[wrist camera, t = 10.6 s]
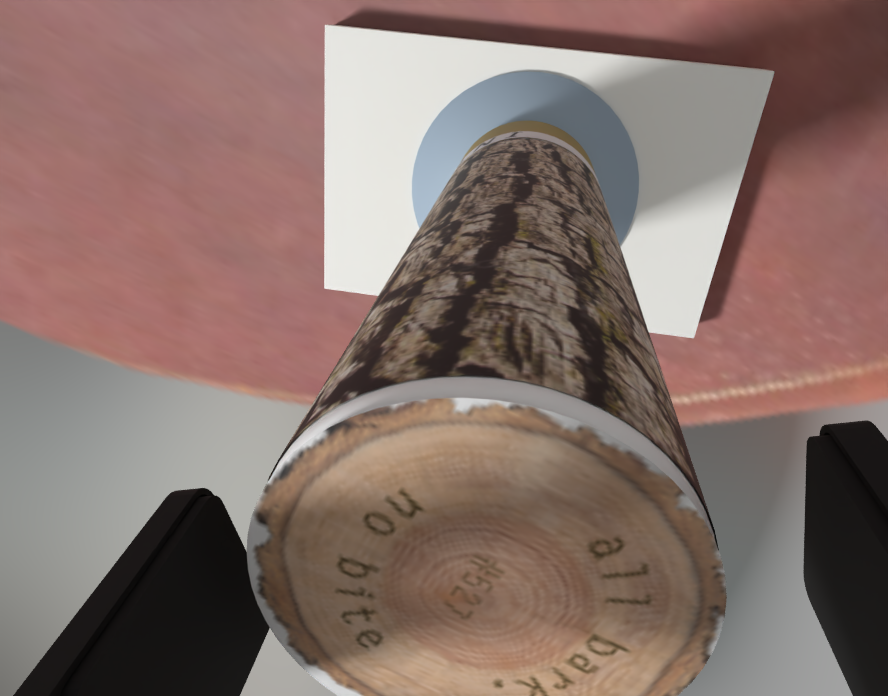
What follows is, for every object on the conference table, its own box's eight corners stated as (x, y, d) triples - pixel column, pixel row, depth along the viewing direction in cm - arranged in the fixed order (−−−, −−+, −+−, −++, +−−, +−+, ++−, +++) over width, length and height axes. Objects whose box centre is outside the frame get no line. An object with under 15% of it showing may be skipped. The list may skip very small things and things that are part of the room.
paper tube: (624, 160, 30) (847, 551, 8) (550, 280, 33) (559, 799, 11) (495, 90, 29) (344, 299, 7) (432, 219, 32) (193, 638, 10)
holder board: (763, 69, 29) (776, 71, 28) (687, 326, 35) (694, 339, 34) (334, 24, 30) (323, 25, 29) (332, 278, 37) (323, 289, 35)
